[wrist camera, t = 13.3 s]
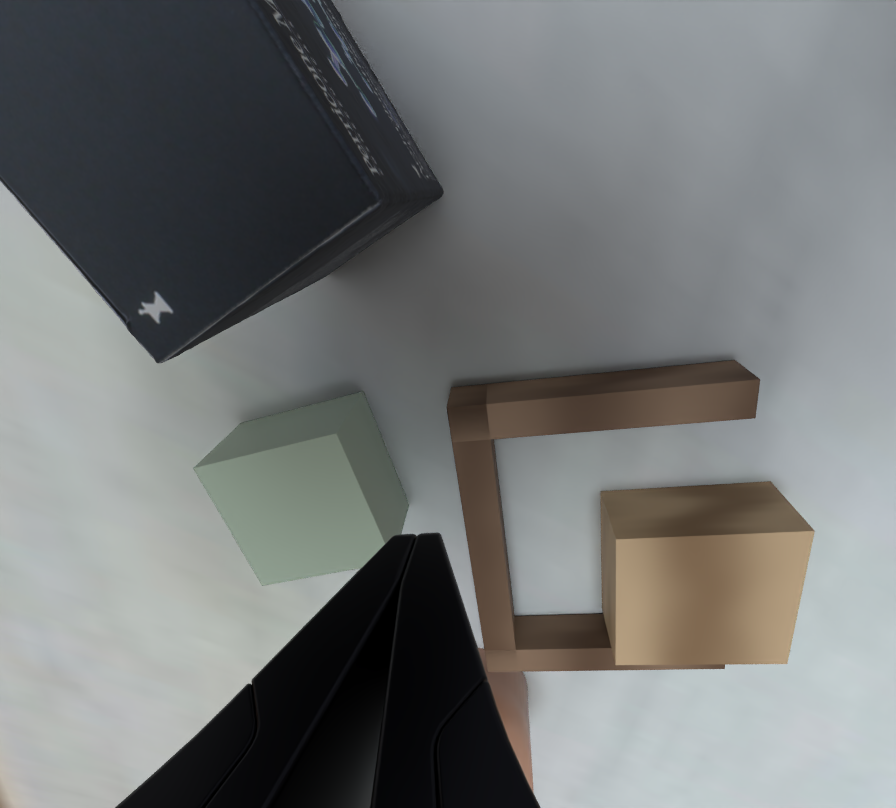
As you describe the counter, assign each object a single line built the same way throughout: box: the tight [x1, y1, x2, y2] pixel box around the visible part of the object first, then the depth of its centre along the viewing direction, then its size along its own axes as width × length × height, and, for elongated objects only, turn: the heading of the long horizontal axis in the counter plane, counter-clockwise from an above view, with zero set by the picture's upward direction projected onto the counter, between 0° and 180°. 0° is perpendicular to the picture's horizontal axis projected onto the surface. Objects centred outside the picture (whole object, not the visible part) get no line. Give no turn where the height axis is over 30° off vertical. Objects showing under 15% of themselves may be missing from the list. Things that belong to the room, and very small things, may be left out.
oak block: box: [601, 481, 814, 665], centre depth 21 cm, size 7×7×4 cm
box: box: [0, 0, 443, 363], centre depth 12 cm, size 8×6×11 cm
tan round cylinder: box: [478, 648, 533, 791], centre depth 25 cm, size 6×6×6 cm
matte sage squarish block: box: [193, 391, 409, 586], centre depth 21 cm, size 6×6×4 cm
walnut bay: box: [447, 360, 760, 672], centre depth 22 cm, size 11×14×2 cm
